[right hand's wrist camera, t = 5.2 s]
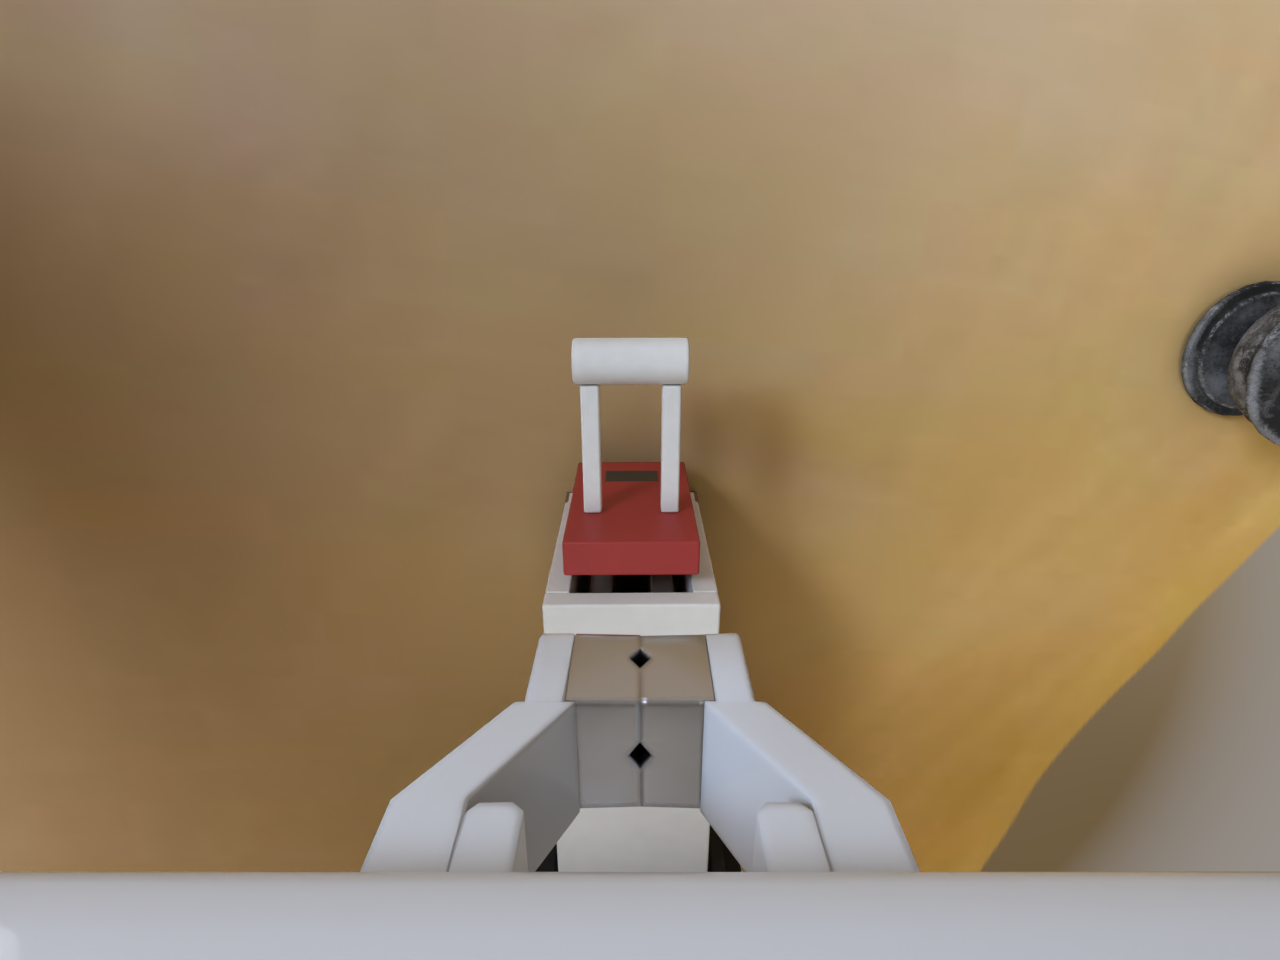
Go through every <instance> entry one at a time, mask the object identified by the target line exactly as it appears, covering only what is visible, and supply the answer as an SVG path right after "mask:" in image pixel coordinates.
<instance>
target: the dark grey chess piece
mask: <svg viewBox="0 0 1280 960" xmlns="http://www.w3.org/2000/svg"><path fill="white" fill-rule="evenodd" d="M1182 377H1183V381H1184V385H1185V388H1186V391H1187V392H1188V393H1189V395H1190V396H1191V398H1192V399H1193V401H1194V402H1196V403H1197V404H1198V405H1200V406H1201V407H1203V408H1204V409H1205V410H1208V411H1211V412H1214V413H1218V414H1221V415H1244V416H1245V417H1246V418H1247V419H1248V420H1249V421H1250V422H1252V423H1253V424H1254V426H1255V427H1256V429H1257V430H1258V432H1259V433H1260V434H1261V435H1263V436H1264V437H1266V438H1267V439H1268V440H1270V441H1271V442H1273V443H1274V444H1277V445H1280V281H1264V282H1260V283H1256V284H1252V285H1248V286H1245V287H1243V288H1241V289H1239V290H1237V291H1235V292H1233V293H1231V294H1229V295H1227V296H1226V297H1225V298H1223V299H1222V300H1221V301H1219V302H1218V303H1217V304H1216V305H1214V306H1213V307H1212V308H1211V309H1210V310H1209V311H1208V312H1207V313H1206V314H1205V316H1204V317H1203V318H1202V319H1201V320H1200V321H1199V322H1198V324H1197V325H1196V327H1195V329H1194V331H1193V332H1192V334H1191V336H1190V338H1189V339H1188V342H1187V345H1186V348H1185V351H1184V355H1183V358H1182Z"/></svg>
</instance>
